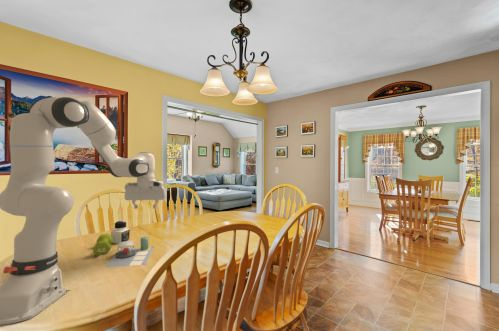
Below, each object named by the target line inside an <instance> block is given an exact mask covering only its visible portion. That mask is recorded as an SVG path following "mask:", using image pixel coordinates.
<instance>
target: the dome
mask: <svg viewBox="0 0 499 331" xmlns="http://www.w3.org/2000/svg"><path fill="white" fill-rule="evenodd" d="M124 248H130V252H131V248H135V242H134V241H133V240H129V241H124V242H120V243H118V244H117V248H116V249H117V250H116V253H118V252H119V250H120V249H124Z"/></svg>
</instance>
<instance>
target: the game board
mask: <svg viewBox="0 0 499 331" xmlns="http://www.w3.org/2000/svg"><path fill="white" fill-rule="evenodd" d="M154 249H155V247H154V246H148V249H147V250H141V247H134V248H133V247H131V252H130V247H127V248H122V249H121V248H119V252H118V253H117V252H115V255H114V256H113V257H112V258H111V260H110V261H109V262H108V263H107V264H106V265H104V268H117V267H133V266H134V267H135V266H145V265H146V264H147V262H148V261H149V258H150V256H151V255H152V252H153V250H154Z"/></svg>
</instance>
